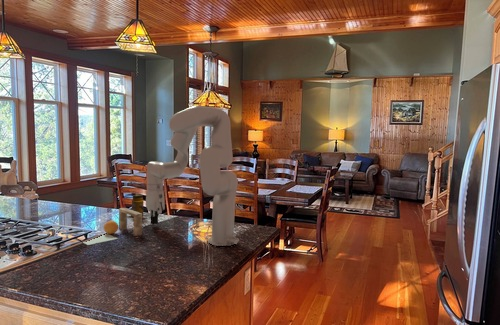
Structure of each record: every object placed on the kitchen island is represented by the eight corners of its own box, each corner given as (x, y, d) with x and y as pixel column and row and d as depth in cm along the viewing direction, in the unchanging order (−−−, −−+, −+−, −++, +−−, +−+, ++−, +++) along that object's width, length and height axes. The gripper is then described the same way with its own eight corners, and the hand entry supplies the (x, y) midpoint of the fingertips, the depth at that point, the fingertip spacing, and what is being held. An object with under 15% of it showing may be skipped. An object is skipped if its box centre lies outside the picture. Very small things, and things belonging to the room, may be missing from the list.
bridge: (124, 227, 171) (124, 207, 170) (141, 234, 161) (142, 213, 160) (118, 228, 169) (119, 208, 168) (135, 235, 159) (136, 214, 158)
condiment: (146, 217, 192) (146, 195, 191) (131, 219, 186) (131, 197, 185) (139, 214, 197) (140, 193, 196) (125, 216, 191) (125, 194, 190)
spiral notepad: (117, 238, 154) (117, 238, 154) (87, 245, 144) (87, 244, 144) (103, 232, 162) (103, 231, 162) (74, 237, 153) (74, 237, 153)
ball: (120, 221, 160) (107, 221, 156) (119, 234, 160) (106, 235, 156) (115, 219, 165) (102, 220, 161) (114, 232, 164) (101, 233, 160)
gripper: (170, 188, 171) (169, 225, 173) (152, 184, 181) (152, 219, 183) (157, 189, 165) (156, 228, 167) (139, 185, 175) (139, 221, 177)
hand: (154, 223), depth 175 cm, fingers closed
